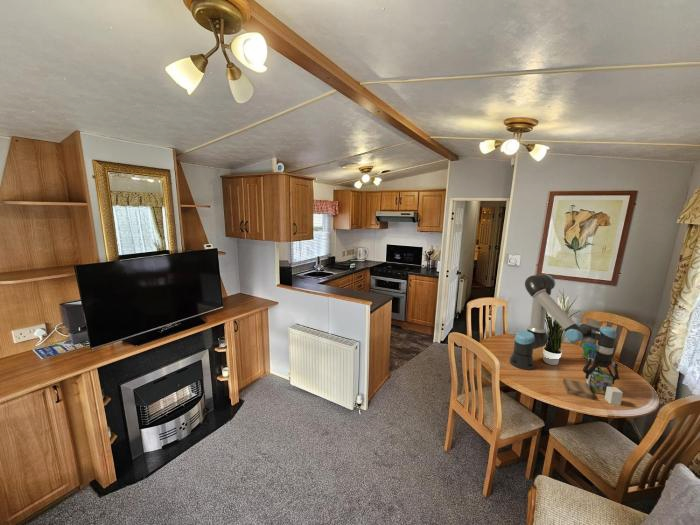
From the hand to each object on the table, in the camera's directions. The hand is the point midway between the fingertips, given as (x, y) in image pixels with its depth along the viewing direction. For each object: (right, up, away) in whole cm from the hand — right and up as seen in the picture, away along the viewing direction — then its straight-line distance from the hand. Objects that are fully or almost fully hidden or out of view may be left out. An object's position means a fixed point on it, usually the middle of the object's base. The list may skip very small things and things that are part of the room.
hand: (598, 385), depth 178 cm
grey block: (-1, -5, -11) cm, 12 cm away
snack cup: (+27, +3, +40) cm, 49 cm away
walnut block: (-14, -3, -1) cm, 15 cm away
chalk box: (0, -3, 0) cm, 3 cm away
